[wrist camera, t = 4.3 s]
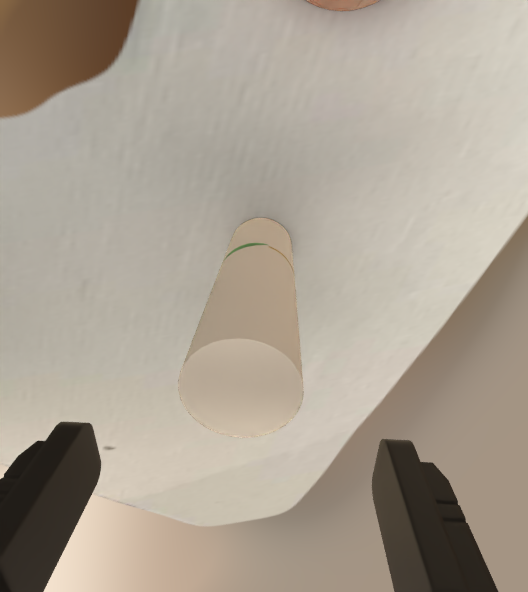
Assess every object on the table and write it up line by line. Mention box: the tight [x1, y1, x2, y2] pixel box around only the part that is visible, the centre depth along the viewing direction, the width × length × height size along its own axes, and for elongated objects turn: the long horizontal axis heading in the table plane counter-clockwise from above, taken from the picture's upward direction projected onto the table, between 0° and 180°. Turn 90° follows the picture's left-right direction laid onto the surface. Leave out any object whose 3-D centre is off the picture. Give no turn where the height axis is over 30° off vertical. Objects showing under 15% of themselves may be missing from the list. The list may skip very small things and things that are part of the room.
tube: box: [178, 218, 304, 438], centre depth 20 cm, size 4×4×15 cm
